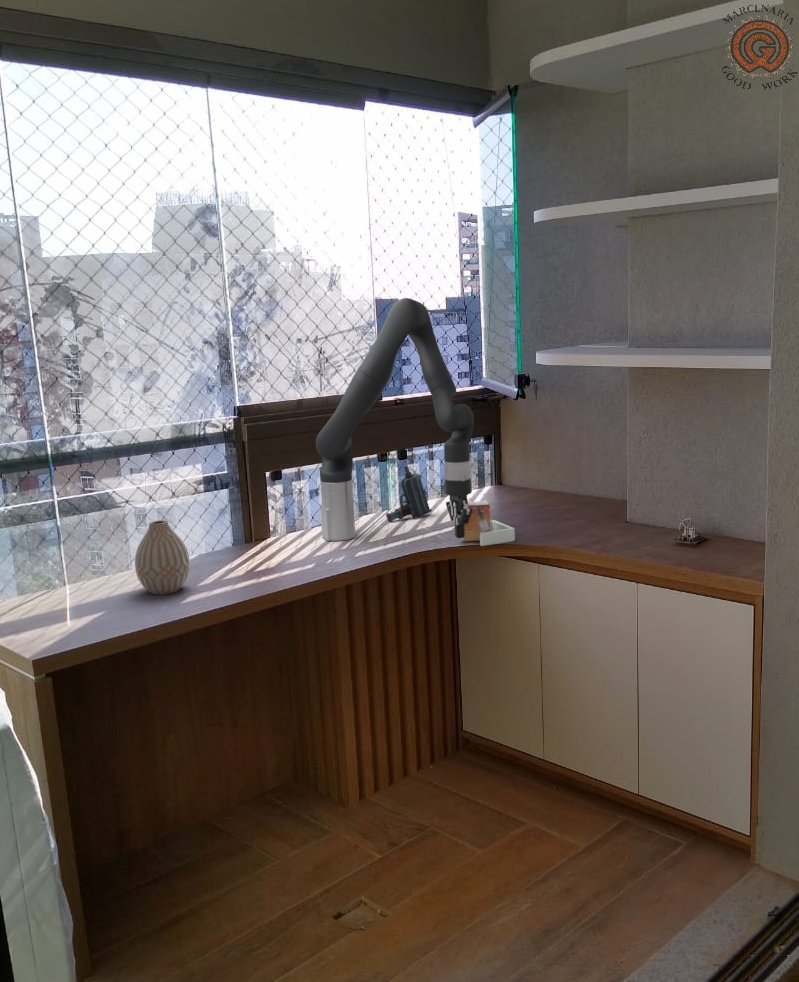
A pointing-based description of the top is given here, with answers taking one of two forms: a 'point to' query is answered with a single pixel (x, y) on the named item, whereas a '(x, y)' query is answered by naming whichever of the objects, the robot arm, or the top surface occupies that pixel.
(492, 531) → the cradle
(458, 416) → the robot arm
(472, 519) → the small box
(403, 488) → the gun
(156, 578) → the vase
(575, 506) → the top surface
